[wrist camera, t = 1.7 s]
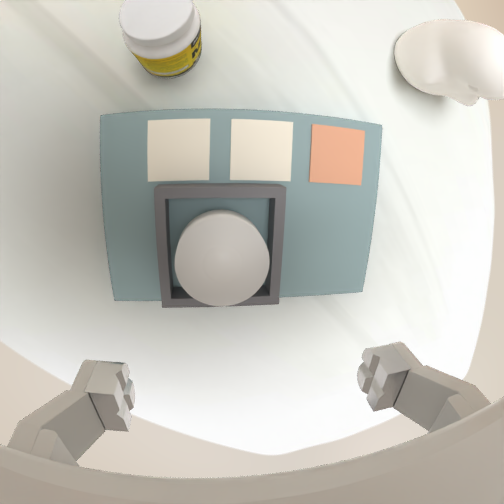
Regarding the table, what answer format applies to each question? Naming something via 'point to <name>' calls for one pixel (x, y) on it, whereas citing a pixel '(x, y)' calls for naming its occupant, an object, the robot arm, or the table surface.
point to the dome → (221, 258)
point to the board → (239, 196)
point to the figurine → (453, 59)
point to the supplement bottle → (162, 35)
